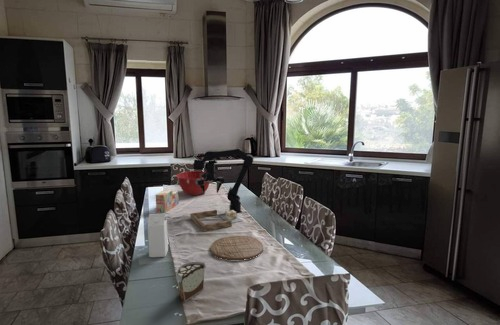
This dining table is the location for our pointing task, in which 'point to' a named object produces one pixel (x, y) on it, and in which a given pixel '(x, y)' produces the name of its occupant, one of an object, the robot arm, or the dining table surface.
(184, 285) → the cake slice
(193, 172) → the mixing bowl
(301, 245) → the dining table surface
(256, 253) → the trivet
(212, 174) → the robot arm
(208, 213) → the walnut u-shaped frame
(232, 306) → the dining table surface
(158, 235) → the milk carton
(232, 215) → the birch block
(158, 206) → the colourful printed box
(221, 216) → the grey mat
